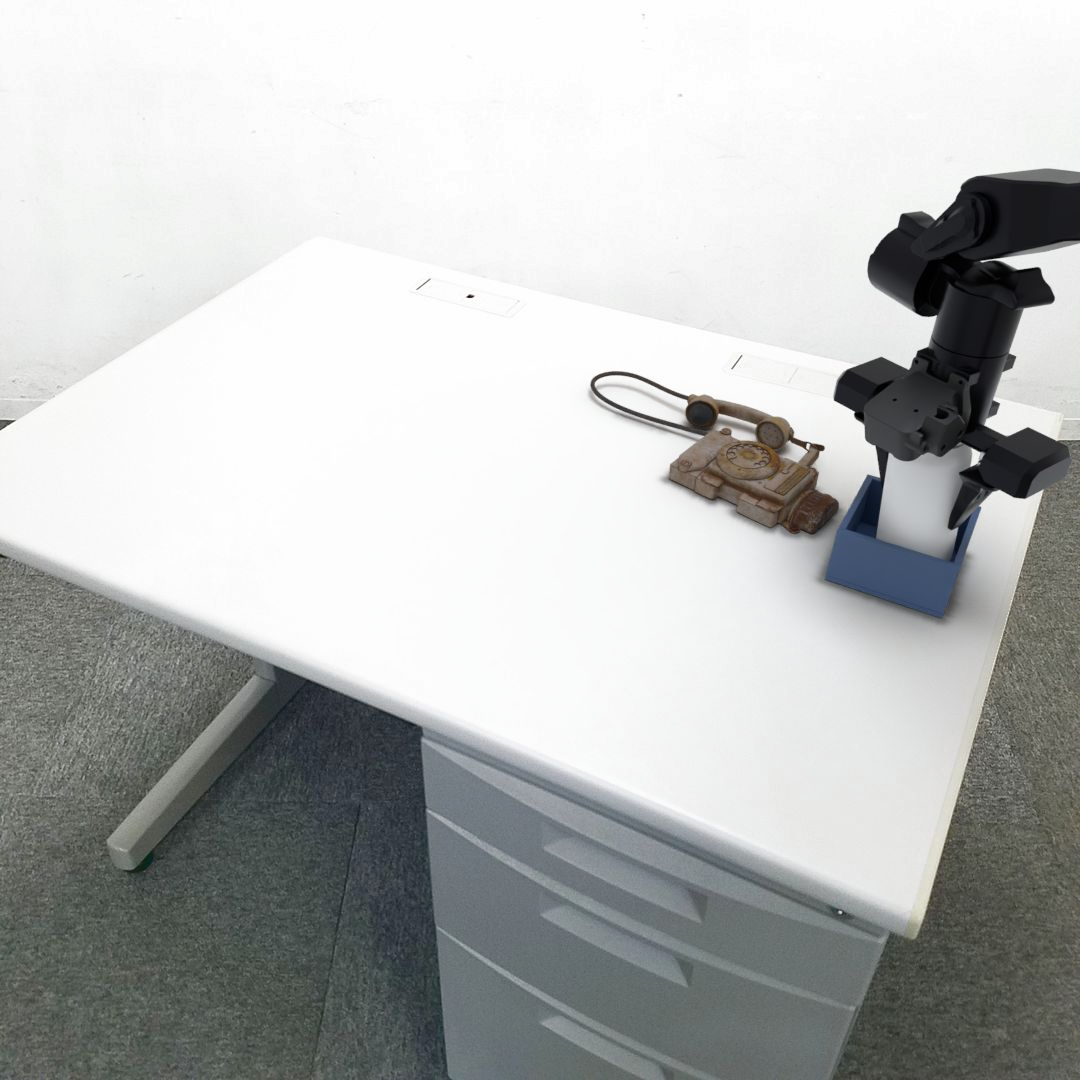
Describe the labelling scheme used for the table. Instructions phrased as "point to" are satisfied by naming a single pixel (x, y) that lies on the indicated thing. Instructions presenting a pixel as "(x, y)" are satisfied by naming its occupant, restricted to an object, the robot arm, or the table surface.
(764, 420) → the telephone
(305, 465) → the table surface
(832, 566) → the bin
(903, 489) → the can
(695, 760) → the table surface
